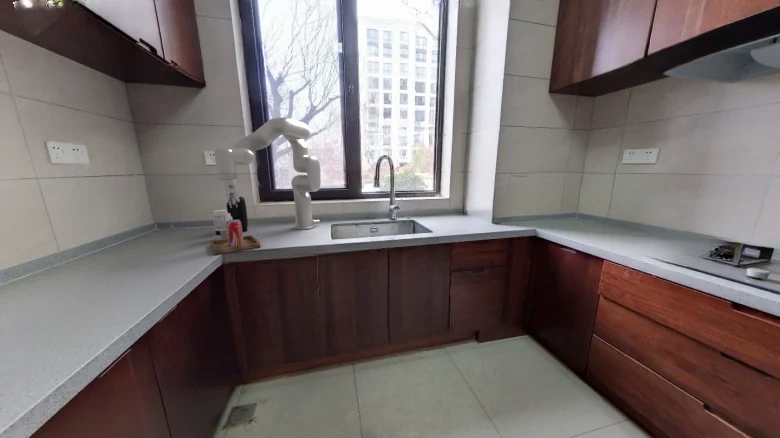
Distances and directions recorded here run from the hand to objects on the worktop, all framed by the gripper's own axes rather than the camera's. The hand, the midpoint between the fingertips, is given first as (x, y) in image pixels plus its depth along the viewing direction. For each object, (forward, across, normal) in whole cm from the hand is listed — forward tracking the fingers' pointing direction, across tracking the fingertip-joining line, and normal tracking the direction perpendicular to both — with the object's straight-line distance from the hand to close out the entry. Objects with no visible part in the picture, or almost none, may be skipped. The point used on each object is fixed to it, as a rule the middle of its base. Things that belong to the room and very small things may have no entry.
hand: (233, 214), depth 124 cm
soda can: (+15, -2, +1) cm, 15 cm away
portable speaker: (+16, +32, -6) cm, 36 cm away
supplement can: (+16, +16, +3) cm, 23 cm away
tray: (+15, 0, +1) cm, 15 cm away
